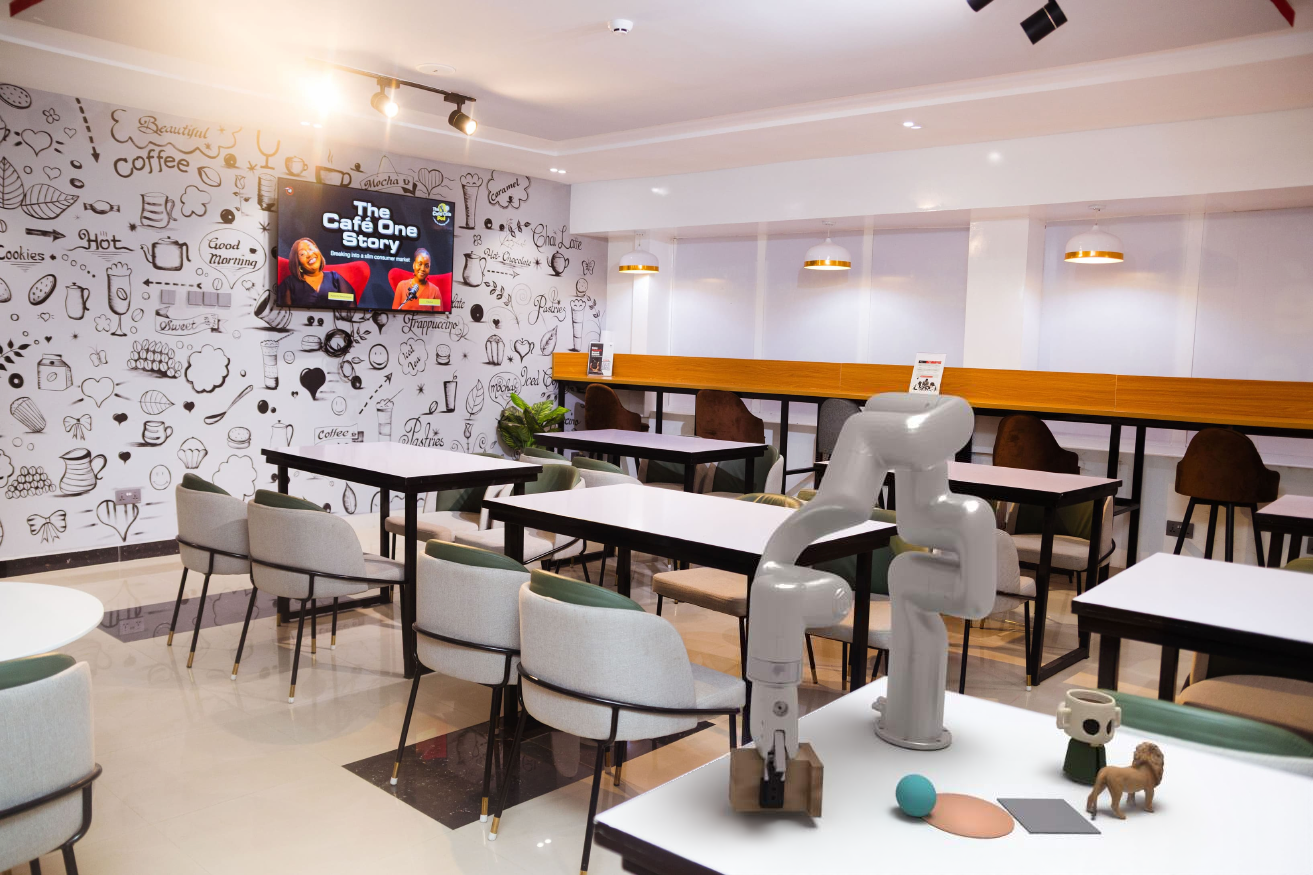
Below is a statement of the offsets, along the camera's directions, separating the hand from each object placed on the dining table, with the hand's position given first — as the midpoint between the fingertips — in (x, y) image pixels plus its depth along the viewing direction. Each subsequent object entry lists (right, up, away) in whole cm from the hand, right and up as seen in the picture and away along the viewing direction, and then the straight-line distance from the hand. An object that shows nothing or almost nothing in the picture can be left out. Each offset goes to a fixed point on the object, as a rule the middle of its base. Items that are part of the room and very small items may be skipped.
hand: (767, 797), depth 126 cm
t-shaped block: (0, -1, 0) cm, 1 cm away
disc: (+28, -3, +2) cm, 28 cm away
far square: (+40, -4, +3) cm, 40 cm away
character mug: (+51, -4, +17) cm, 54 cm away
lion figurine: (+52, -5, +7) cm, 53 cm away
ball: (+21, 0, +2) cm, 21 cm away
